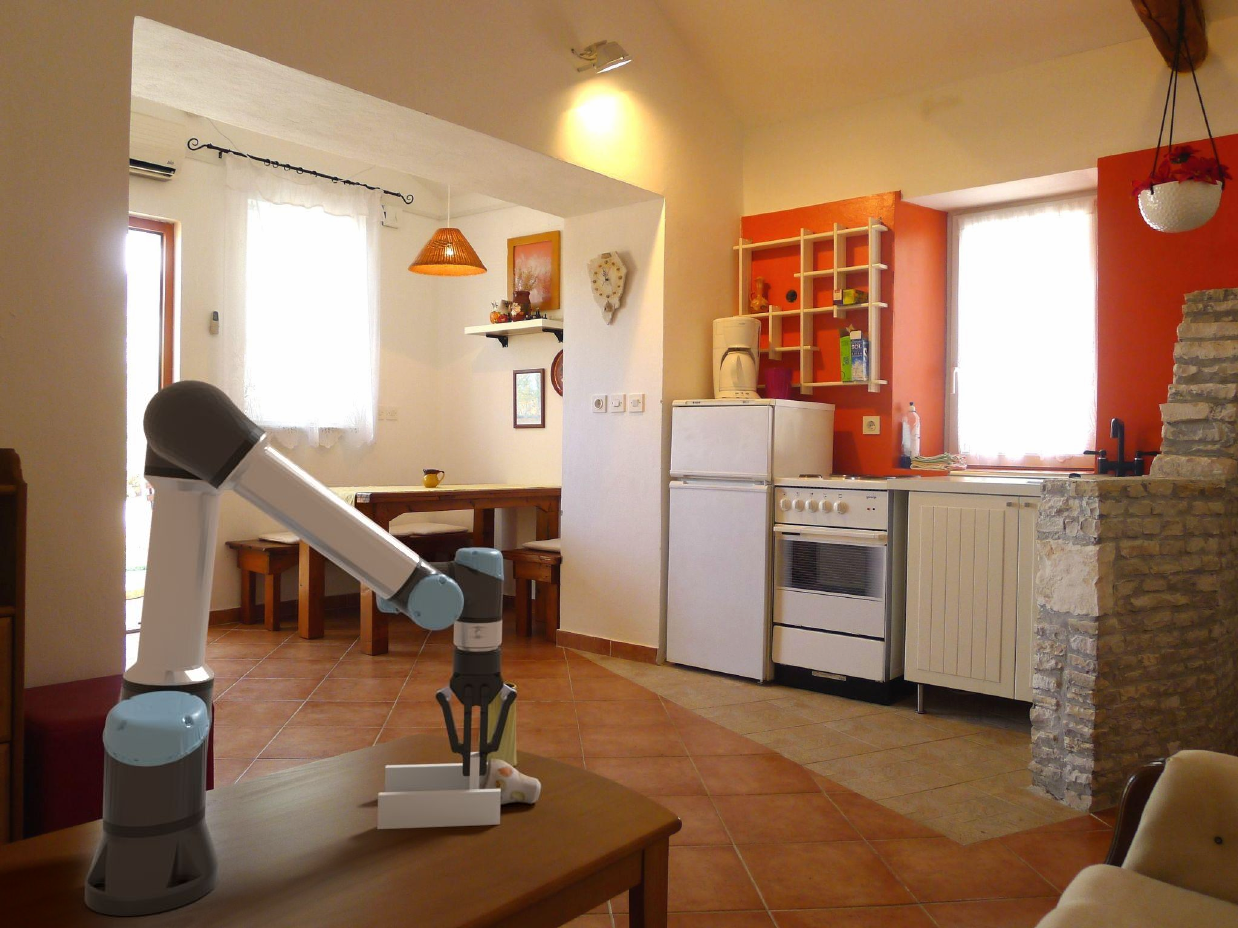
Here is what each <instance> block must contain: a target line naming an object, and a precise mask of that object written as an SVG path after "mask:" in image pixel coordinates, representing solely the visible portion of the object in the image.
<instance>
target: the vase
mask: <svg viewBox="0 0 1238 928" xmlns="http://www.w3.org/2000/svg"><path fill="white" fill-rule="evenodd" d="M504 684H505V685H507V686H508V687H510V688H514V689H516V690H517V685H516V684H515V683H512V682H504ZM501 694H502V691H501V690H500V692H499V693H498V695H497V696H496V697H495V699H494V700H493V701H492V702H491V704H489V705H488V741H487V743H489V742H491V740H492V736H493V733H494V729H495V725H496V722H497V718H498V714H499V710H500V707H501V703H502V698H501ZM490 759H500V760H502V761H505V762H506V763H508V764H509V765H511V766H512V767H513V768H515V766H516V765H517V764H518V759H517V698H516V699H515V700H514V702H513V703H512V704H511V706H510V709H509V712H508V716H507V720H506V724H505V727H504V731H503V735H502V738H501V742H500V746H499V749H498V751H496V752H491V753H489V754H488V756H487V763H488V762H489V760H490Z"/></svg>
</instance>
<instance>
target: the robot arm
mask: <svg viewBox="0 0 1238 928" xmlns="http://www.w3.org/2000/svg"><path fill="white" fill-rule="evenodd" d="M143 413H144V414H143V421H142V427H143V432H144V433H143V434H144V437H145V439H146V450H145V459H144V470H143V478H144V479H145V480H146V481H147V483H148V484H149V485H150V486H151V487H152V489H153V490H154V491H153V501H152V509H151V520H150V531H149V540H148V541H149V542H148V549H147V551H148V552H147V560H146V569H145V579H144V587H143V588H144V589H143V598H142V608H141V618H140V628H139V639H138V645H137V659H136V661H135V663H133V664H132V665H131V666H130V667H128V669H126V670H125V671H124V672H123V674H122V683H121V692H120V702H118V703H116V705H114V706H113V707H112V708H111V709H110V710H109V712H108V714H107V716H106V718H105V719H106V720H105V726H104V728H103V732H102V742H103V747H104V757H103V759H104V761H103V762H104V763H103V764H104V765H103V768H104V769H103V793H102V794H103V798H102V801H103V802H102V833H101V837H100V840H99V842H98V845H97V847H96V850H95V854H94V856H93V859H92V861H91V865H90V867H89V869H88V873H87V875H86V877H85V881H84V904H86V906H87V907H88V908H89V909H91V911H94V912H96V913H99V914H104V915H110V916H117V917H118V916H120V917H125V916H126V917H129V916H130V917H131V916H143V915H150V914H157V913H160V912H161V913H162V912H166V911H170V910H173V909H177V908H179V907H182V906H186V905H188V904H190V903H192V902H195V901H197V900H199V899H201V898H202V897H204V896H205V895H208V893H209V892H211V891H212V890H213V889H214V888H215V887H216V885H217V884H218V882H219V877H220V875H219V874H220V873H219V872H220V860H219V857H218V854H217V851H216V848H215V845H214V841H213V839H212V836H211V833H210V831H209V827H208V824H207V821H206V820H207V819H206V807H207V806H206V804H207V802H206V801H207V766H208V764H207V762H208V760H207V759H208V749H209V748H208V747H209V736H210V735H209V734H210V730H211V728H212V727H211V726H212V722H213V721H212V720H213V717H212V716H213V715H212V714H213V713H212V706H213V705H212V704H213V696H214V686H215V685H214V683H215V682H214V681H215V671H213V669H212V668H211V667H210V666H209V665H208V664H207V663H206V662H205V659H206V651H207V641H208V640H207V638H208V631H209V630H208V629H209V620H210V609H211V608H210V607H211V599H212V591H213V590H212V588H213V579H214V572H215V560H216V551H217V550H216V549H217V540H218V530H219V521H220V509H221V500H222V495H223V493H224V492H225V491H233V492H234V494H237V495H238V496H240V497H241V498H243V500H245V501H246V502H248V503H249V504H250V505H252V506H254V507H255V508H256V509H258V510H259V511H261V512H262V513H264V515H267V516H268V517H269V518H270V519H272V520H273V521H275V522H276V523H278V524H279V525H280V526H281V527H283V528H284V529H286V530H288V531H289V532H290V533H292V534H293V535H294V536H296V537H297V538H298V539H300V540H301V541H303V542H304V543H305V544H306V545H308V546H309V547H311V548H312V549H314V550H315V551H317V552H318V553H319V554H321V555H322V556H324V557H325V558H327V559H328V560H329V561H331V562H333V563H334V564H335V565H337V566H338V567H339V568H341V569H342V570H343V571H345V572H346V573H348V574H349V575H350V576H352V577H354V578H355V579H356V580H358V581H359V582H360V583H362V584H363V585H364V586H366V587H367V588H368V589H370V590H372V591H373V592H374V593H375V598H376V600H375V602H376V605H377V608H378V610H379V611H380V612H382V613H394V614H400V613H403V614H404V615H406V616H408V618H410V619H411V620H412V622H413V623H415V624H416V625H417V626H419V627H421V628H422V629H427V630H430V631H442V630H445V629H447V628H449V627H450V626H452V625H453V644H454V645H455V647H454V649H453V651H452V653H453V654H452V675H451V678H450V679H449V684H447V685H446V686H445V687H443V688H439V689H437V690H436V692H435V699H436V702H438V705H440V707H441V709H442V714H443V719H444V723H445V727H446V732H447V736H448V741H449V745H450V750H451V752H452V753H453V754H460V755H461V756H462V763H463V769H462V773H463V776H470V783H469V790H473V789H479V776H485V775H486V773H487V756H488V754H489V753H491V752H496V751H498V749H499V746H500V742H501V738H502V735H503V731H504V727H505V724H506V720H507V716H508V712H509V709H510V706H511V704H512V703H513V702H514V700H515V699H516V700H517V697H518V693H517V688H516V689H514V688H510V687H508V686H507V685H505V684H504V681H505V680H504V678H503V676H502V649H501V647H500V645H501V644H502V642H503V641H502V639H503V638H502V637H503V598H504V597H503V595H504V594H503V593H504V581H505V576H504V557H503V554H502V552H501V551H500V550H498V549H496V548H490V547H463V548H462V547H461V548H459V549H458V550H456V552H455V557H454V560H450V561H444V562H439V561H438V562H435V561H434V562H431V561H430V562H428V561H427V560H426V559H424V558H422V557H421V556H420V555H419V554H417V552H415V551H413V549H410V548H409V547H408V546H407V545H405V544H404V543H403V542H401V541H400V540H399V539H397V538H396V537H395V536H393V535H392V534H391V533H389V532H388V531H387V530H385V529H384V528H383V527H381V526H380V525H379V524H377V523H376V522H375V521H373V520H372V519H370V518H369V517H368V516H366V515H365V514H364V513H362V512H361V511H360V510H358V509H357V507H355V506H353V505H351V503H349V502H347V500H345V499H344V498H342V497H341V496H339V495H338V494H337V493H336V492H334V491H333V490H332V489H330V488H329V487H327V486H326V485H325V484H324V483H322V482H321V481H320V480H318V479H317V478H316V477H314V476H313V475H312V474H310V473H309V472H307V471H306V470H305V469H304V468H302V467H301V466H299V465H298V464H296V462H294V461H292V460H291V459H290V458H289V457H288V456H286V455H285V454H283V453H282V452H281V451H279V450H278V449H276V447H274V446H273V445H271V443H270V439H269V434H268V432H267V431H265V430H264V429H263V428H261V426H259V425H258V424H256V423H255V422H254V421H253V420H252V419H250V417H248V416H247V415H246V414H245V413H244V412H243V411H242V410H241V409H240V408H239V407H238V406H237V405H236V404H235V403H234V402H233V400H231V397H229V396H228V395H227V394H226V392H224V391H223V390H222V389H220V388H218V387H217V386H215V385H213V384H211V383H208V382H206V381H200V380H196V379H195V380H194V379H192V380H191V379H190V380H188V379H186V380H185V379H184V380H180V381H177V382H173V383H172V382H171V384H168V385H166V386H165V387H163V388H161V389H160V390H159V391H157V392H156V393H155V394H154V395H153V396H152V397H151V399H150V400H149V402H148V403H147V405H146V407H145V410H144V412H143ZM500 690H501V691H502V694H501V698H502V703H501V707H500V710H499V714H498V718H497V722H496V725H495V729H494V733H493V736H492V740H491V742H489V743H487V741H488V705H489V704H491V702H492V701H493V700H494V699H495V697H496V696H497V695H498V693H499V692H500ZM452 693H453V694H454V696H455V697H456V698H457V700H458V702H459V703H460V704H461V705H463V728H462V729H463V731H462V732H463V734H462V735H463V736H462V742H460V741H459V736H458V732H457V727H456V723H455V719H454V714H453V710H452V704H451V702H450V701H451V700H452ZM473 707H479V737H478V738H479V741H478V742H479V744H478V750H479V751H472V720H473V719H472V717H473V715H472V714H473Z"/></svg>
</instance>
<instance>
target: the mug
mask: <svg viewBox="0 0 1238 928" xmlns="http://www.w3.org/2000/svg"><path fill="white" fill-rule="evenodd" d="M480 789H500V790H501V799H500V806H501V805H506V804H511V803H524V804H525V803H526V804H533V803H535V802H536V801H538V800H539V797H540V793H541V790H542V784H541V782H540V781H539V779H538V778H535V777H532V776H530V775H529V776H528V775H525V774H523V773H522V772H520V771H519V770H518V769H516V768H515V767H512V766H511V765H509V764H508V763H506V762H505V761H502V760H500V759H490V760H489V762H488V764H487V773H486V775H485V776H483V779H482V783H481V788H480Z"/></svg>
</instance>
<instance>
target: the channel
mask: <svg viewBox="0 0 1238 928" xmlns="http://www.w3.org/2000/svg"><path fill="white" fill-rule="evenodd" d="M487 764H488V763H487ZM462 769H463V762H462V763H460V762H458V763H429V764H428V763H425V764H423V763H422V764H419V763H418V764H388V765H387V764H386V765H385V770H384V772H385V773H384V775H385V776H384V778H385V779H384V791H383V792H378V795H377V827H376V828H377V830H389V829H390V830H391V829H393V830H394V829H417V828H419V829H420V828H438V827H439V828H442V827H445V828H447V827H467V826H491V825H493V826H494V825H501V805H500V799H501V790H500V789H480V788H481V783H482V779H483V776H479V789H473V790H469V783H470V776H463V773H462Z"/></svg>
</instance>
